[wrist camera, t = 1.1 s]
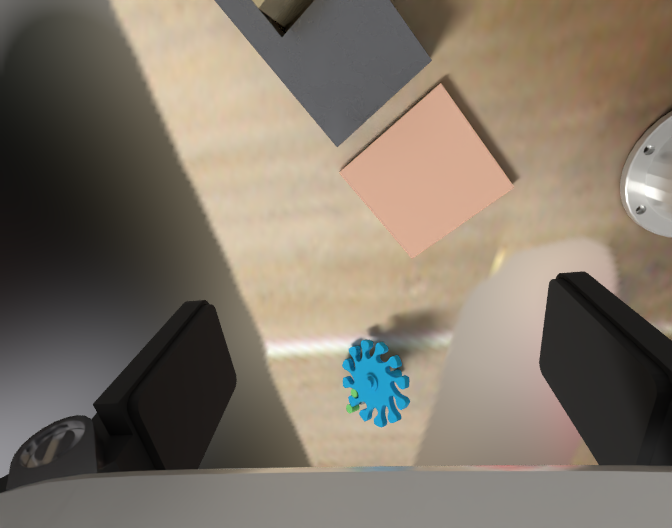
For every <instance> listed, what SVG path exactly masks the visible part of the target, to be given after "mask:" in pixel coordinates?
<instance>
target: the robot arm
mask: <svg viewBox="0 0 672 528" xmlns="http://www.w3.org/2000/svg"><path fill="white" fill-rule="evenodd" d="M644 149H645V150H644ZM620 195H621V200H622V204H623V206H624V208H625V210H626V212H627V214H628V215H629V216H630V218H631V219H632V220H633V221H634V222H635V223H636V224H638V225H640V226H641V227H643V228H644V229H646V230H648V231H651V232H653V233H655V234H658V235H662V236H666V237H672V111H671V112H669V113H668V114H666V115H665V116H663V117H662V118H660V119H659V120H658V121H657V122H656V123H655V124H654V125H652V126H651V127H650V128H649V129H648V130H647V131H646V132H645V133H644V135H643V136H642V137H641V138H640V139H639V140H638V142H637V143H636V145H635V146H634V148H633V149H632V151H631V153H630V154H629V156H628V158H627V161H626V163H625V165H624V168H623V171H622V176H621V181H620ZM539 364H540V370H541V372H542V375H543V376H544V378H545V379H546V381H547V383H548V384H549V386H550V388H551V389H552V391H553V392H554V394H555V395H556V397H557V399H558V400H559V402H560V403H561V405H562V407H563V408H564V410H565V411H566V413H567V415H568V416H569V418H570V419H571V421H572V422H573V424H574V426H575V427H576V429H577V430H578V432H579V434H580V435H581V437H582V438H583V440H584V442H585V443H586V445H587V446H588V448H589V450H590V451H591V453H592V454H593V456H594V458H595V459H596V461H597V462H598V464H599V465H506V466H505V465H499V466H498V465H496V466H495V465H494V466H380V467H307V468H306V467H303V468H302V467H300V468H243V469H198V467H199V465H200V463H201V461H202V459H203V457H204V454H205V452H206V450H207V448H208V446H209V443H210V441H211V439H212V437H213V435H214V432H215V431H216V428H217V426H218V424H219V422H220V420H221V418H222V415H223V413H224V411H225V409H226V407H227V404H228V402H229V400H230V398H231V396H232V393H233V391H234V389H235V387H236V373H235V370H234V367H233V364H232V361H231V357H230V354H229V351H228V348H227V344H226V341H225V338H224V335H223V332H222V328H221V325H220V322H219V319H218V316H217V312H216V309H215V307H214V306H213V305H209V303H208V302H207V301H206V300H201V301H188V302H185V303H184V304H183V305H182V306H181V307H180V308H179V309H178V310H177V311H176V312H175V314H174V315H173V316H172V317H171V318H170V319H169V320H168V321H167V323H166V324H165V325H164V326H163V327H162V328H161V329H160V330H159V332H157V334H156V335H155V336H154V337H153V338H152V339H151V340H150V341H149V342H148V344H147V345H146V346H145V347H144V348H143V349H142V350H141V351H140V353H139V354H138V355H137V356H136V357H135V358H134V359H133V360H132V361H131V362H130V364H129V365H128V366H127V367H126V368H125V369H124V370H123V371H122V372H121V374H120V375H119V376H118V377H117V378H116V379H115V380H114V381H113V382H112V384H111V385H110V386H109V387H108V388H107V389H106V390H105V391H104V392H103V394H102V395H101V396H100V397H99V398H98V399H97V400H96V401H95V402H94V404H93V406H94V408H95V409H96V411H97V413H96V415H95V416H94V417H93V418H92V419H91V418H88V417H87V416H85V415H75V416H70V417H66V418H63V419H60V420H58V421H55V422H53V423H51V424H50V425H48V426H46V427H44V428H42V429H41V430H40V431H38V432H37V433H35V434H34V435H32V436H31V437H30V438H29V439H28V440H27V441H26V442H24V443H23V444H22V445H21V447H20V448H19V449H18V451H17V452H16V453H15V454H14V457H13V459H12V461H11V465H10V470H9V474H8V475H6V476H4V477H2V478H0V528H672V341H671V340H670V339H669V338H668V337H666V336H665V335H664V334H663V333H661V332H660V331H659V330H658V329H656V328H655V327H654V326H653V325H651V324H650V323H649V322H648V321H646V320H645V319H644V318H643V317H641V316H640V315H639V314H638V313H636V312H635V311H634V310H633V309H631V308H630V307H629V306H628V305H626V304H625V303H624V302H623V301H621V300H620V299H619V298H618V297H616V296H615V295H614V294H613V293H611V292H610V291H609V290H608V289H606V288H605V287H604V286H603V285H601V284H600V283H599V282H598V281H596V280H595V279H594V278H593V277H591V276H590V275H589V274H588V273H586V272H571V273H559V274H558V275H557V277H556V279H552V280H551V281H550V283H549V288H548V297H547V304H546V312H545V320H544V328H543V337H542V344H541V352H540V361H539Z"/></svg>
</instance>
